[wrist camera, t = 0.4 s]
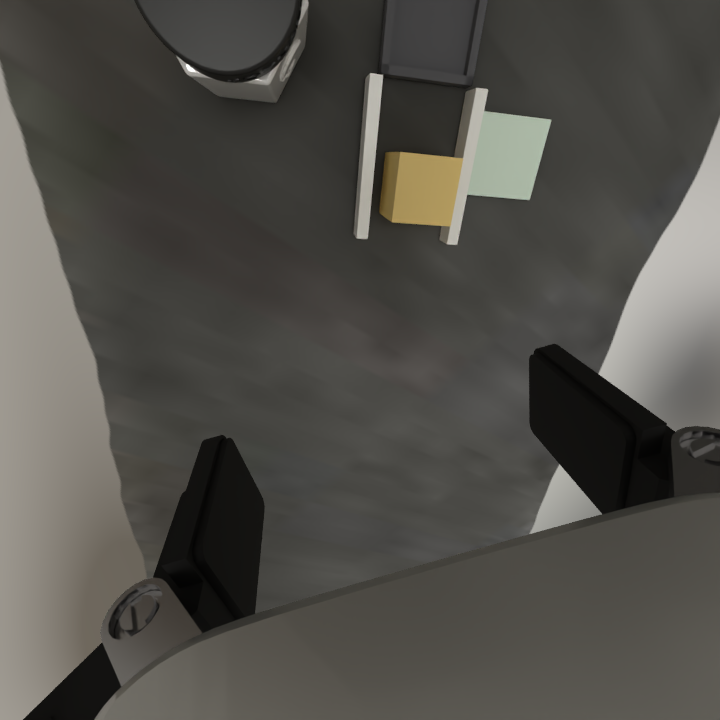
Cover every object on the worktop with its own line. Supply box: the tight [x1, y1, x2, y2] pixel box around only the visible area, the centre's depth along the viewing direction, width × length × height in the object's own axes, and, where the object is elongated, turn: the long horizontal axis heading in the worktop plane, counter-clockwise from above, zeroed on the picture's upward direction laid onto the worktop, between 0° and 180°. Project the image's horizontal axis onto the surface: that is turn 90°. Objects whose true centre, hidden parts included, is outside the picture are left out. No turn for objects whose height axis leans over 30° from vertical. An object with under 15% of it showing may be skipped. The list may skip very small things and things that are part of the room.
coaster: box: [467, 111, 551, 200], centre depth 34 cm, size 6×6×1 cm
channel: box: [354, 73, 488, 245], centre depth 33 cm, size 12×10×2 cm
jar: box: [134, 0, 309, 103], centre depth 23 cm, size 9×8×12 cm
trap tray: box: [378, 0, 488, 88], centre depth 29 cm, size 7×8×1 cm
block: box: [379, 152, 463, 227], centre depth 32 cm, size 5×5×6 cm
